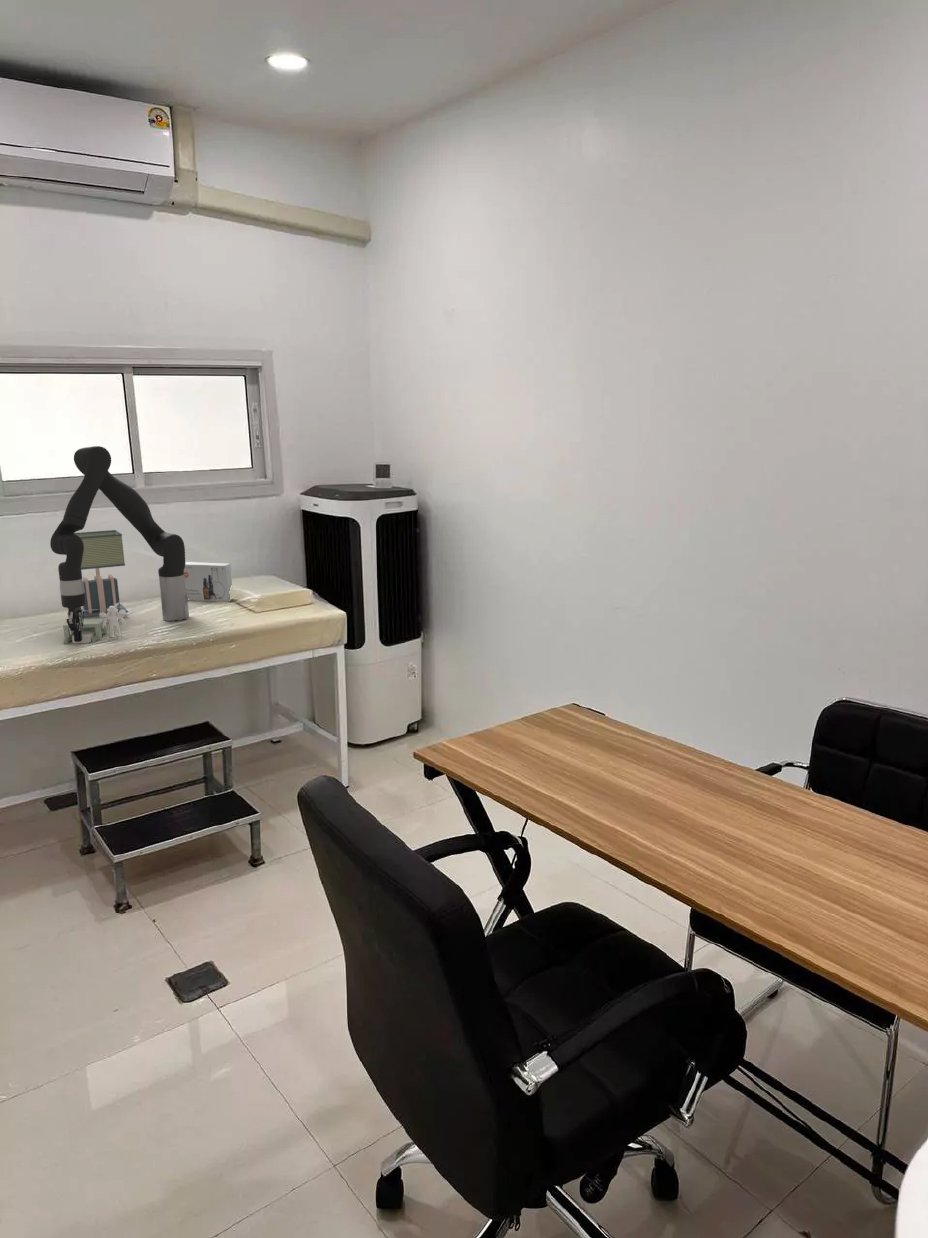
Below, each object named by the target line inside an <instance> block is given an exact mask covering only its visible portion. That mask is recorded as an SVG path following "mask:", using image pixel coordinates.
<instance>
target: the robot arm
mask: <svg viewBox="0 0 928 1238" xmlns="http://www.w3.org/2000/svg"><path fill="white" fill-rule="evenodd" d="M73 461H74V465H75V467H76V469H78V472H80V473H81V474H82V475H83V476H84V477H83V479H82V481H81V483H80V484H79V486H78V487H77V489H76V490H75V491H74V493H73V494H72V495H71V497H70V499H69V501H68V503H67V505H66V508H65V511H64V514H63V518H62V520H61V522H60V523H59V524H58V525H57V527H56V529H55V530H54V532H53V534H52V536H51V538H50V542H49V545H50V549H51V551H52V552H53V553H54V554H57V555H61V556H62V555H63V556H66V558H65V561H63V562H60V563H59V564H58V567H57V568H58V569H57V570H58V578H59V593H60V601H61V606H62V607H63V608H67V618H66V622H67V624H68V626H69V630H70V632H71V631H73V634H74V641H75V642H80V641H82V633H81V630H82V627H83V621H84V611H82V610H81V609H82V607H83V606H84V605H86V599H85V590H84V583H83V572H82V570H81V564H82V558H83V552H84V544H83V541H82V539H81V538H80V537H79V536H77V535H73V534H74V533H77V532H79V531H83V529H84V528H85V525H86V523H87V520H88V517H89V513H90V510H91V507H92V505H93V503H94V500H95V498H96V495H97V493H98V491H99V490H100V492H101V493H103V495H104V496H105V497H106V498H107V499H108V500H109V501H110V502H111V503H112V504H113V506H114V507H115V508H116V510H117V511H119V513H120V514H121V515H122V516H123V517H124V518H125V519H126V520H127V522H129V523H130V524H131V525H132V526H133V527H134V528H135V530H137V531H138V533H140V535H141V536H142V537H143V539H144V540H145V542H146V543H147V544H148V546H149V547H150V548H151V551H153V552H154V553H155V554H156V555H158V556H159V557H163V558H162V559H163V560H162V564H163V565H162V566H160V567H159V568H158V581H159V591H160V600H161V601H160V602H161V613H162V614H161V615H162V620H163V621H165V620H166V621H167V622H176V621H175V620H178V621H183V620H182V619H186V620H188V618H189V616H190V611H189V600H188V599H187V592H186V590H185V579H184V568H185V562H186V548H185V543H184V540H183V538H182V537H181V536H180V535H178V534H175V533H170V532H166V531H165V530H164V529H162V527H160V526H159V524H158V523H157V522H156V521H155V519H154V518H153V515H152V512H151V510H150V507H149V505H148V503H147V502H146V500H144V498H143V497H142V496H141V495H140V494H139V492H137V490H135V489H134V488H133V487H131V486H130V485H128V484H127V483H125V482H123V481H121V479H119V478H117V477H116V476H114V475H113V474H112V473H111V472H109V469H110V467H111V464H112V456H111V454H110V451H109V450H107V448H106V447H103V446H100V445H95V446H94V445H93V446H87V447H81V448H78V449H76V451H75V452H74V454H73Z"/></svg>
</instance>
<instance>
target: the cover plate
mask: <svg viewBox="0 0 928 1238" xmlns="http://www.w3.org/2000/svg"><path fill="white" fill-rule="evenodd" d="M81 633H82V641H80V642H75V641H74V635H73V636H72V640H71V642H72V644H88V643H89V642H91V643H92V639H91V638H92V637H93V636H95V635H96V631H95V629H82V630H81ZM89 644H90V643H89Z"/></svg>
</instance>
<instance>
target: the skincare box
mask: <svg viewBox="0 0 928 1238" xmlns="http://www.w3.org/2000/svg"><path fill="white" fill-rule="evenodd" d="M231 569H232V568H231V563H228V562H224V563H223V562H202V561H201V562H197V561H185V568H184V579H185V590H186V592H187V599H190V600H189V601H200V600H201V601H202V602H205V601H206V602H222V603H223V602H225V603H228V602H230V601H229V600H230V594H229V591H230V587H231V585H232V586H233V580H232V571H231ZM201 601H200V602H201Z"/></svg>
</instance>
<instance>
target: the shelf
mask: <svg viewBox="0 0 928 1238" xmlns="http://www.w3.org/2000/svg"><path fill="white" fill-rule="evenodd" d="M103 621H104V619H102V618H84V621H83V627H82V629H95V631H96V635H95V636H93V637H92V638H91V639H92V642H94V643H96V642H97V641H98V640H102V639H103V635H107V634H108V627H107V622H106V623H105V624H106V625H105V626H104V629H103V628H102V624H103ZM62 628H63V629H62V630H63V636H64V637H63V638H64V640H63V641H64V645H67V644H69V643H70V642H72V636H73V635H74V634H73V631H71V630H70V628H69V626H68V624H67V621H66V622H65V623H64V624H63V625H62ZM92 642H91V643H92Z"/></svg>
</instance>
